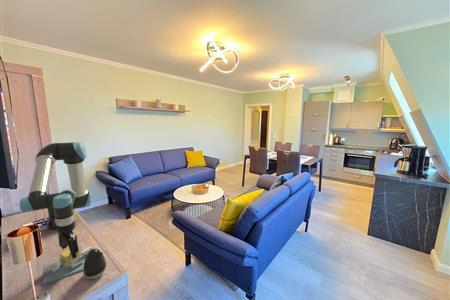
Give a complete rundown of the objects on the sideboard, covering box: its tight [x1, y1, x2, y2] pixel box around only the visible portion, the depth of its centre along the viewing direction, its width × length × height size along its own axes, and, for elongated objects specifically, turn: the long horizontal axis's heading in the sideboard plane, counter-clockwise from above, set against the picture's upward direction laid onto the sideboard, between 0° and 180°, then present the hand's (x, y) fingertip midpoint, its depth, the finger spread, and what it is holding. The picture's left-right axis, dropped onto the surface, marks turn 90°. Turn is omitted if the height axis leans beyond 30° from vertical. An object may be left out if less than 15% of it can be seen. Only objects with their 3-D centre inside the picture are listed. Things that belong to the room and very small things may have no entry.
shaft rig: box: [42, 246, 94, 286], centre depth 107 cm, size 13×22×5 cm, turn 126°
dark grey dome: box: [82, 248, 107, 280], centre depth 102 cm, size 10×10×15 cm
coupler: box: [59, 249, 81, 267], centre depth 106 cm, size 6×8×6 cm
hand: (70, 260), depth 107 cm, fingers closed on coupler, 6 cm apart
